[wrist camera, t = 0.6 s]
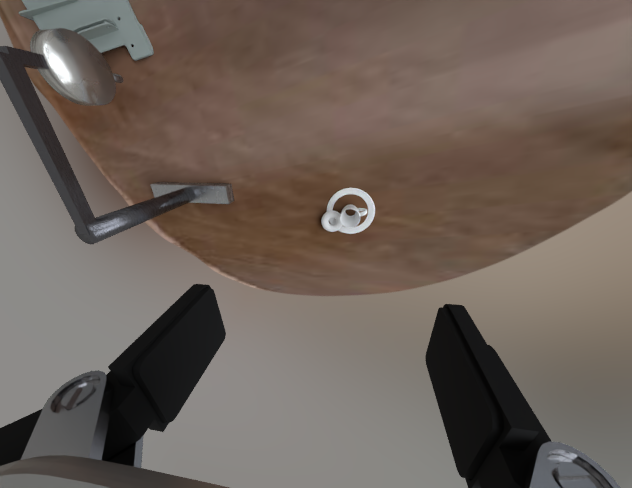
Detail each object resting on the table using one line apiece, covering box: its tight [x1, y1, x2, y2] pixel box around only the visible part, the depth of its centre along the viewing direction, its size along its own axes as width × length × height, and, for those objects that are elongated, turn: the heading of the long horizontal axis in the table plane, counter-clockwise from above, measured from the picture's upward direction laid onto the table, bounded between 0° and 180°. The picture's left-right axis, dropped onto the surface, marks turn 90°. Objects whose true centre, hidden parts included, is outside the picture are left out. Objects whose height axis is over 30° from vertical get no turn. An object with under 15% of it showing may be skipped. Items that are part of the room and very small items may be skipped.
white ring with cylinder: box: [321, 188, 375, 234], centre depth 37 cm, size 9×8×4 cm
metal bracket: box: [19, 0, 153, 61], centre depth 31 cm, size 14×6×15 cm
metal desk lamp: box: [0, 28, 234, 244], centre depth 29 cm, size 20×14×19 cm
